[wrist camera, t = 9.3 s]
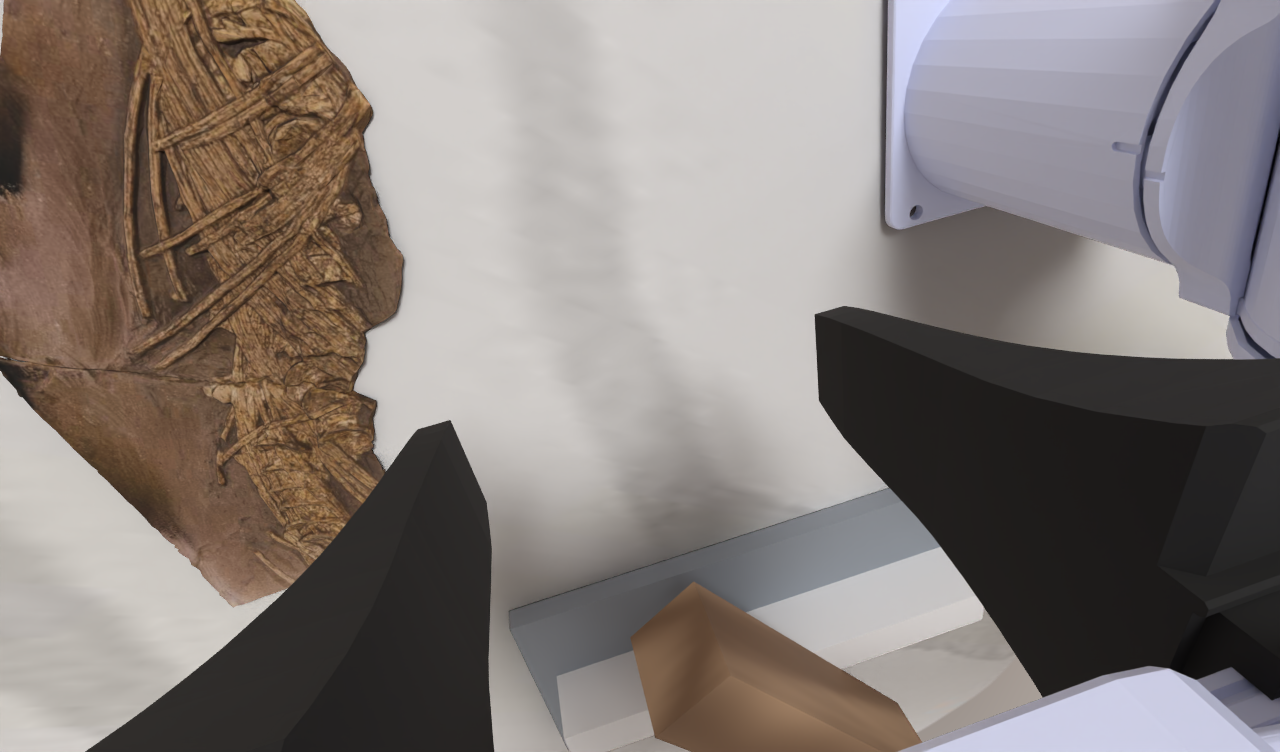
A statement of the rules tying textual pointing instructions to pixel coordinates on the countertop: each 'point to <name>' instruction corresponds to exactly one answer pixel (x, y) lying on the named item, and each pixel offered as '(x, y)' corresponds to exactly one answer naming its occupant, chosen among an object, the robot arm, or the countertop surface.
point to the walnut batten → (753, 687)
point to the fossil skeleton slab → (195, 268)
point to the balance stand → (747, 608)
